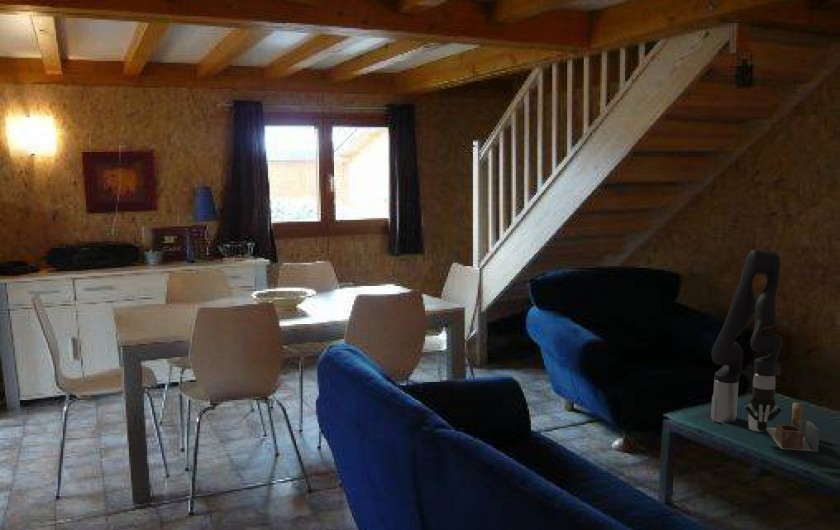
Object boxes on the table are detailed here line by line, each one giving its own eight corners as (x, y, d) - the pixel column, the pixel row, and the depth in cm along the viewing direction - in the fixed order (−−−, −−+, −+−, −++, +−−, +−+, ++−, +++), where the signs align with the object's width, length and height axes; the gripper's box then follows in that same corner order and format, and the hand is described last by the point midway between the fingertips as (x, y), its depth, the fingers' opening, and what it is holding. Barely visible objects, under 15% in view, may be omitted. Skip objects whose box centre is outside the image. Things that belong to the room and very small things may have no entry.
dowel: (792, 434, 268) (794, 404, 266) (789, 431, 271) (791, 402, 270) (801, 435, 267) (803, 405, 266) (798, 432, 270) (800, 403, 269)
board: (780, 451, 254) (780, 448, 254) (763, 429, 276) (764, 427, 276) (817, 454, 251) (818, 451, 251) (797, 432, 274) (798, 429, 273)
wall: (813, 451, 252) (815, 430, 251) (804, 441, 261) (806, 420, 260) (818, 451, 251) (819, 430, 250) (809, 441, 261) (810, 421, 260)
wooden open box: (781, 446, 255) (782, 431, 254) (775, 439, 262) (776, 423, 262) (802, 448, 253) (803, 432, 252) (795, 440, 261) (796, 425, 260)
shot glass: (765, 436, 269) (766, 419, 269) (745, 432, 273) (747, 415, 272) (766, 431, 275) (768, 414, 274) (748, 427, 279) (749, 410, 278)
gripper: (747, 387, 255) (745, 433, 257) (786, 389, 253) (783, 435, 254) (742, 382, 262) (740, 426, 264) (779, 384, 260) (777, 428, 262)
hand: (761, 430), depth 259 cm, fingers closed
